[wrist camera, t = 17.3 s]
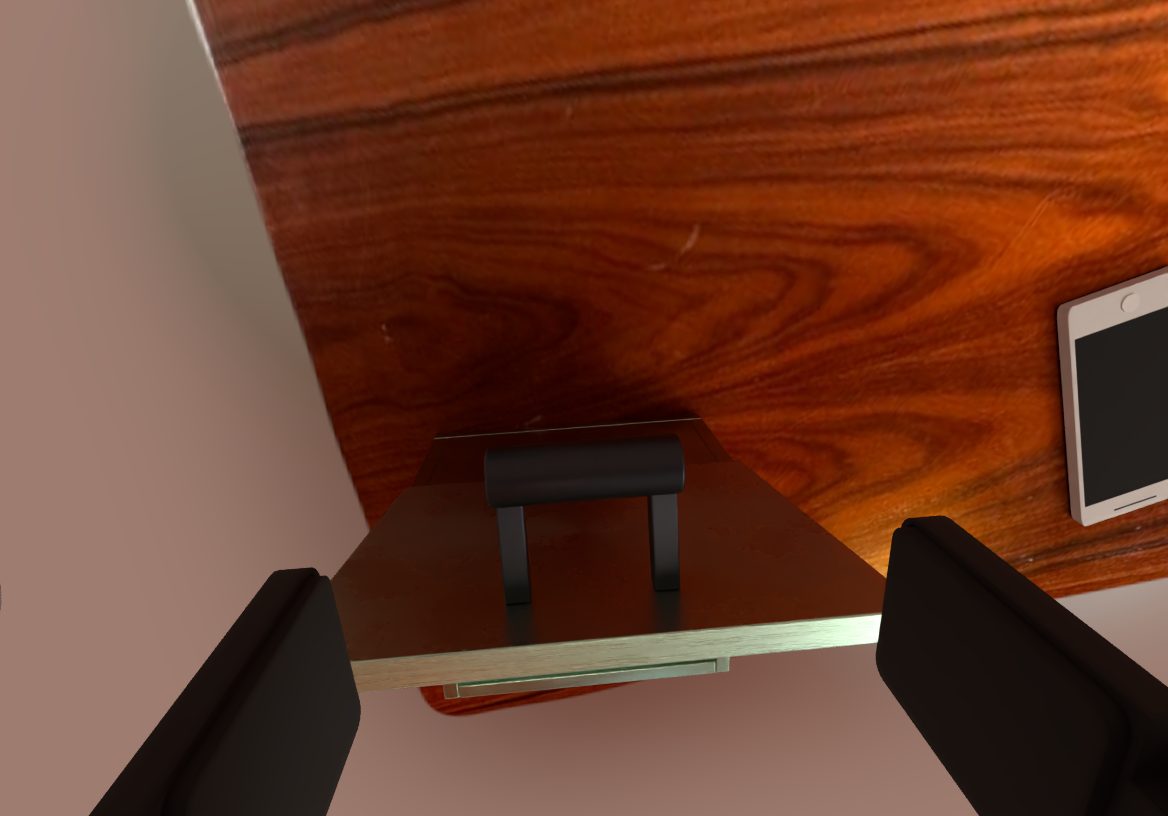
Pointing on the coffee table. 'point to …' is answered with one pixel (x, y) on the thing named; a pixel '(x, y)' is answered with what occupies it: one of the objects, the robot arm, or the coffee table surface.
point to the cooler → (465, 451)
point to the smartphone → (1116, 397)
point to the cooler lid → (594, 569)
